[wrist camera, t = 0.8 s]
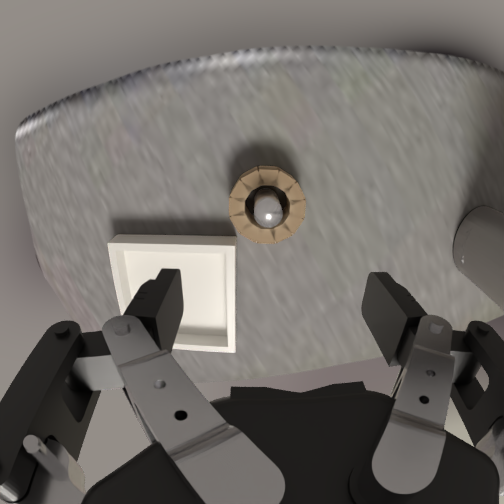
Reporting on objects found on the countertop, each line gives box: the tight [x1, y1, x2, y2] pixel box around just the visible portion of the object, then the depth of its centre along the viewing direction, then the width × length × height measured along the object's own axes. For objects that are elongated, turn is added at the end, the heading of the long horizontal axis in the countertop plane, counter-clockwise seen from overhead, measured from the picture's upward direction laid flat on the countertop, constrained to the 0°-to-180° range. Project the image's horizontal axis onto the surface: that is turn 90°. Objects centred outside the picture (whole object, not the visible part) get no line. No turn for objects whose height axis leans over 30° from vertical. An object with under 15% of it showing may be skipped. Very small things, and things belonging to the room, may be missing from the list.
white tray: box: [107, 234, 237, 353], centre depth 30 cm, size 13×13×2 cm
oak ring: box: [229, 166, 306, 244], centre depth 26 cm, size 6×6×3 cm
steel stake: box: [254, 188, 283, 228], centre depth 25 cm, size 2×2×5 cm
